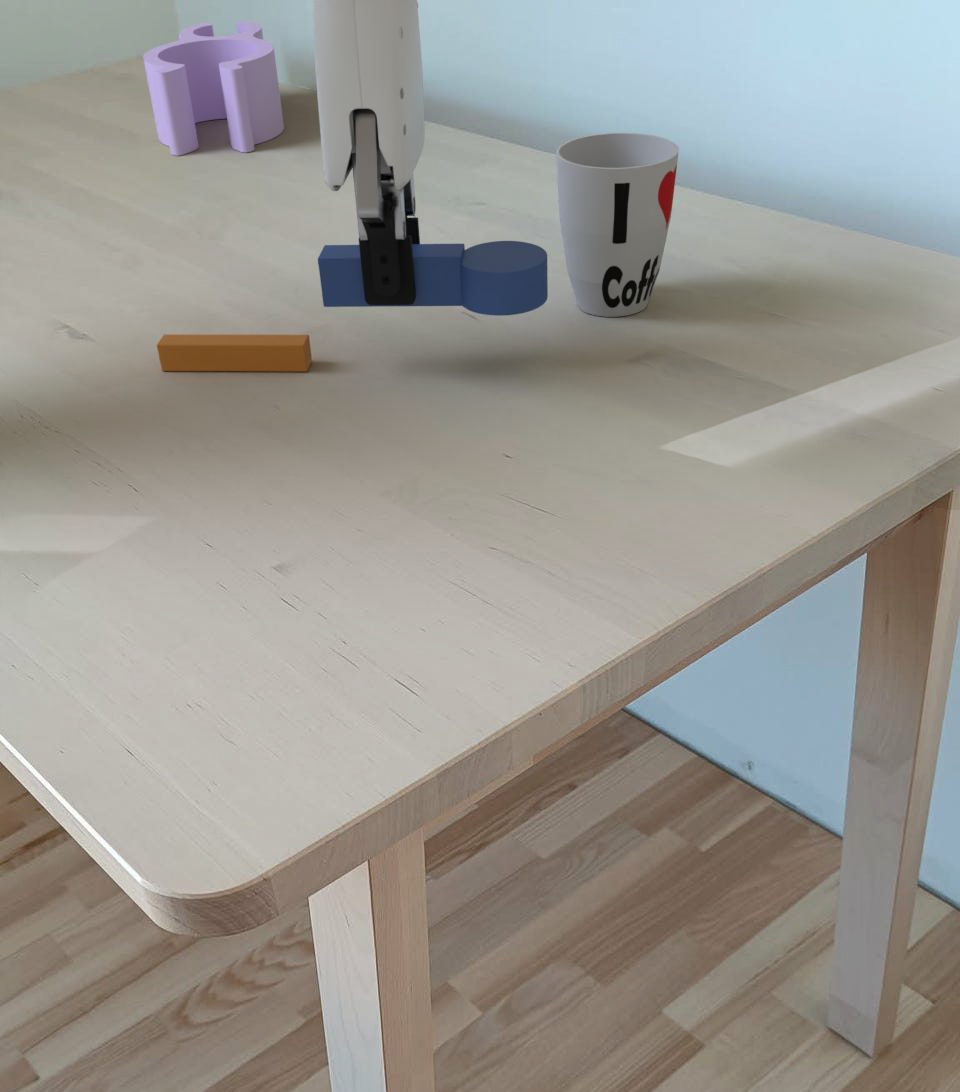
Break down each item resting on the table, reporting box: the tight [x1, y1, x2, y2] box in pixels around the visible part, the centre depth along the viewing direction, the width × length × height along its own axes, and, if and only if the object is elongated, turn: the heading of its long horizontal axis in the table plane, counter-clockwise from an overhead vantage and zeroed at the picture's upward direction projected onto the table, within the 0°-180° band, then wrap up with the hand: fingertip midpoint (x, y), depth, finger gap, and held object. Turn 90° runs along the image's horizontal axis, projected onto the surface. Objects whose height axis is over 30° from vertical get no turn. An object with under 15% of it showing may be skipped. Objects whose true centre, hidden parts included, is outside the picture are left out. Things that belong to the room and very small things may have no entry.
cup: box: [555, 132, 680, 318], centre depth 88 cm, size 8×8×10 cm
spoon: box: [317, 240, 549, 317], centre depth 81 cm, size 14×6×3 cm, turn 85°
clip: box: [142, 20, 285, 157], centre depth 126 cm, size 20×12×7 cm, turn 1°
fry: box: [156, 333, 313, 373], centre depth 85 cm, size 10×2×2 cm, turn 85°
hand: (394, 291), depth 81 cm, fingers closed on spoon, 2 cm apart
